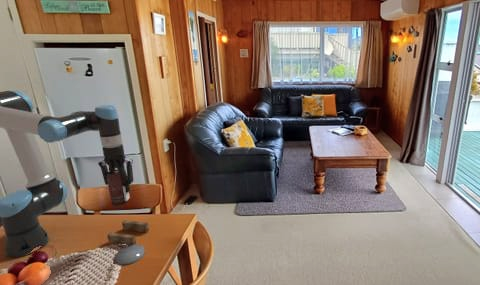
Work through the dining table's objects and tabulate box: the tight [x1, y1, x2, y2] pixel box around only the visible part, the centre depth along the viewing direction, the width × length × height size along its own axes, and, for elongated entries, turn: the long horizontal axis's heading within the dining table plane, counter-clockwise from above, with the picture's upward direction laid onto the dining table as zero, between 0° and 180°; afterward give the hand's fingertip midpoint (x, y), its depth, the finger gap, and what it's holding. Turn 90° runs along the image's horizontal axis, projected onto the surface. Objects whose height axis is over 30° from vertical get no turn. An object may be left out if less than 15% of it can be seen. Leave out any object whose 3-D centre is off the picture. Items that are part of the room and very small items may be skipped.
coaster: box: [114, 244, 146, 266], centre depth 115 cm, size 11×11×1 cm
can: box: [106, 169, 128, 207], centre depth 119 cm, size 6×6×14 cm
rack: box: [107, 220, 150, 246], centre depth 126 cm, size 12×12×4 cm
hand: (122, 199), depth 121 cm, fingers open, 3 cm apart
